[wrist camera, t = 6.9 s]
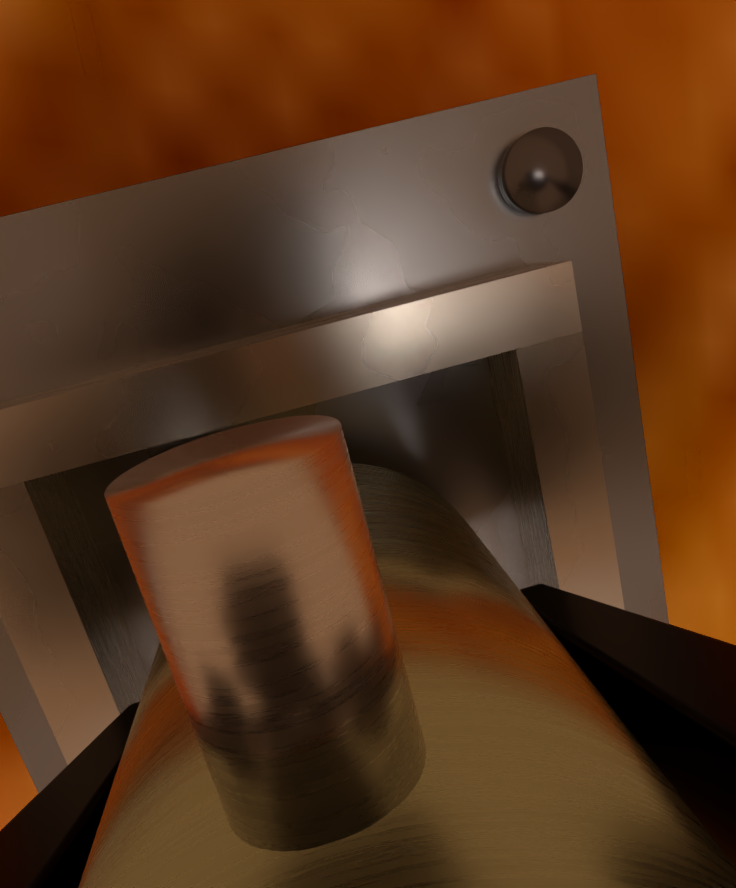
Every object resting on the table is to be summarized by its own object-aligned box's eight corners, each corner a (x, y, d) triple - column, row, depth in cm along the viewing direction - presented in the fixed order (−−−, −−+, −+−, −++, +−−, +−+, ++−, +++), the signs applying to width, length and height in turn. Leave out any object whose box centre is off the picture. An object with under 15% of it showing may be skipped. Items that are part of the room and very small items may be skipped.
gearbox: (619, 707, 16) (740, 858, 12) (31, 891, 15) (-64, 1127, 11) (524, 120, 13) (650, 37, 8) (-261, 311, 12) (-575, 330, 7)
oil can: (516, 700, 11) (961, 1490, 4) (230, 788, 11) (129, 1832, 4) (431, 298, 9) (983, 362, 2) (81, 389, 9) (-772, 865, 2)
